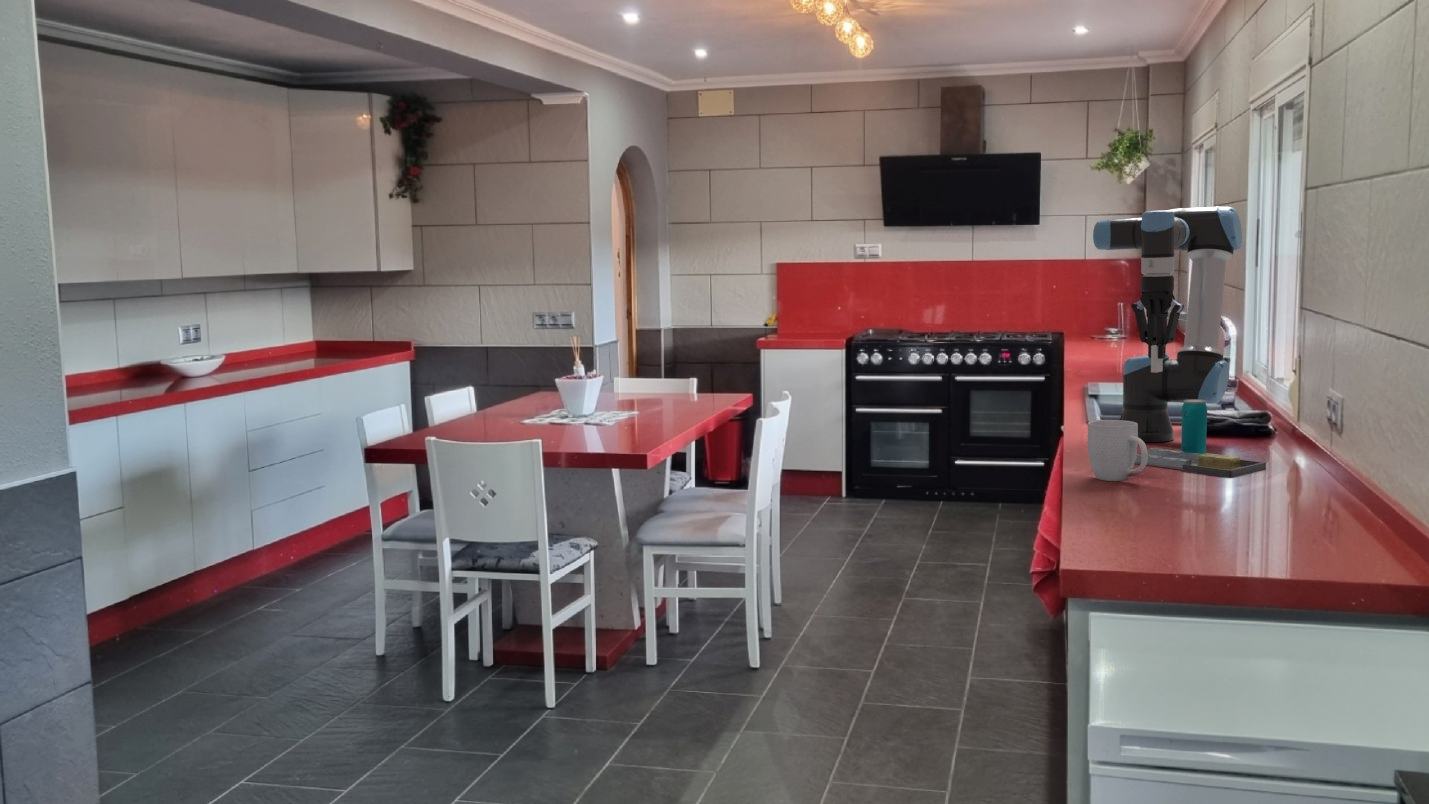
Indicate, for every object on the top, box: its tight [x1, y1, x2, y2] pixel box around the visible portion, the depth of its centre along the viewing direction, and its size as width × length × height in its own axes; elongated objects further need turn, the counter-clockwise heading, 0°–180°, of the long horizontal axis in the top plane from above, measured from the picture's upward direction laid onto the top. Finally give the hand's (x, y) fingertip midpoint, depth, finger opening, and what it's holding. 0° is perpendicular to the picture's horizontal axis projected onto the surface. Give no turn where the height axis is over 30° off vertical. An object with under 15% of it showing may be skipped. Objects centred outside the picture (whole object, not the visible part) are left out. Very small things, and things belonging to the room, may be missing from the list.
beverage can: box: [1180, 399, 1208, 454], centre depth 303 cm, size 6×6×15 cm
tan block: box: [1197, 452, 1223, 468], centre depth 286 cm, size 4×4×4 cm
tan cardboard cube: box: [1214, 454, 1241, 470], centre depth 282 cm, size 4×4×4 cm
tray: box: [1182, 458, 1267, 478], centre depth 283 cm, size 15×12×3 cm
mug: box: [1087, 419, 1148, 482], centre depth 281 cm, size 15×11×13 cm
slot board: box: [1135, 447, 1201, 471], centre depth 294 cm, size 12×16×4 cm
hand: (1156, 371), depth 300 cm, fingers closed
